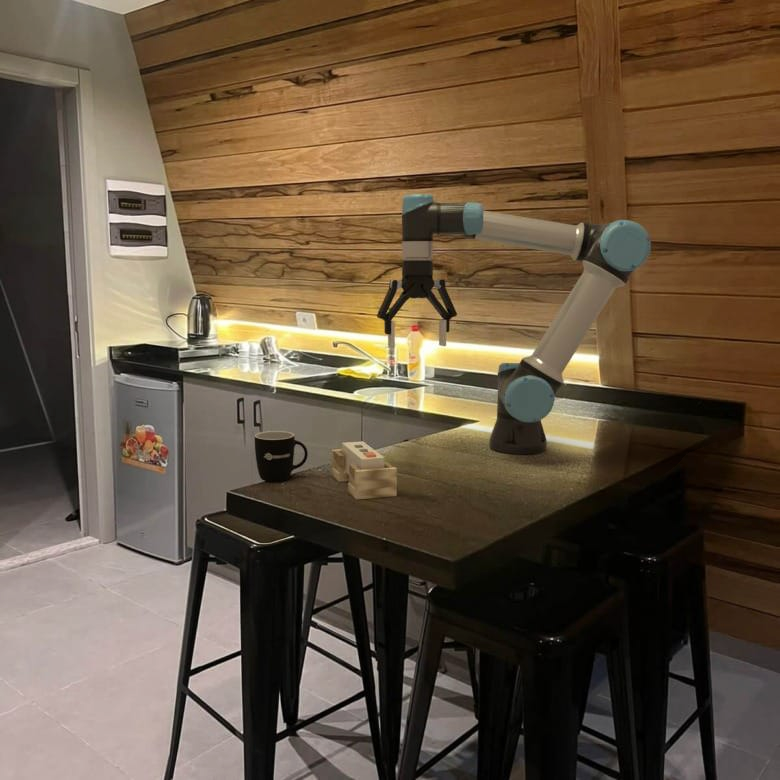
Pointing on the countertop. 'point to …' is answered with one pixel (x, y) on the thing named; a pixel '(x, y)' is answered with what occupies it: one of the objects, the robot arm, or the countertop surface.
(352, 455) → the power strip
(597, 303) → the robot arm
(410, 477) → the countertop surface
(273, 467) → the mug
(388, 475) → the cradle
